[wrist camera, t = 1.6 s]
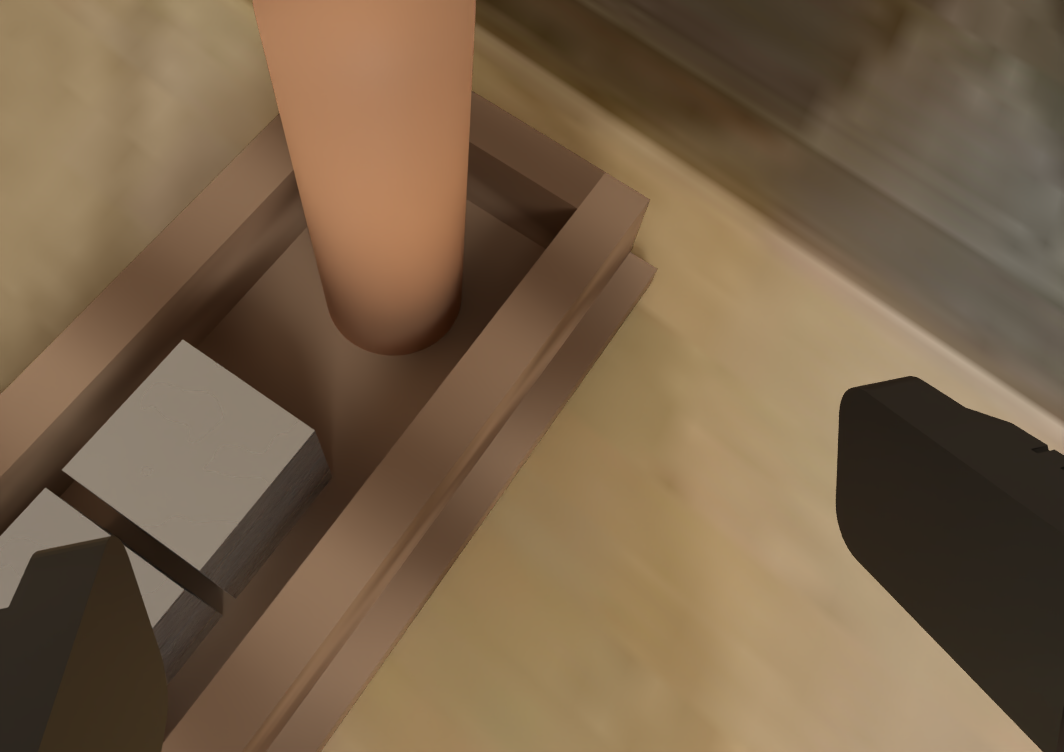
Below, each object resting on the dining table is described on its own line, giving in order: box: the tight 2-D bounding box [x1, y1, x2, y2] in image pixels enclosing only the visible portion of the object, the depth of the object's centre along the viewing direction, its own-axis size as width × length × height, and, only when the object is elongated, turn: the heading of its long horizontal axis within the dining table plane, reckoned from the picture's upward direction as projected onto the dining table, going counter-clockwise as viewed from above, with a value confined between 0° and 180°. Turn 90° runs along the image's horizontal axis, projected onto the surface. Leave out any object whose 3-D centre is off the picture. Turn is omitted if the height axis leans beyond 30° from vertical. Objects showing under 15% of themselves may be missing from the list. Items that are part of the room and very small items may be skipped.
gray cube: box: [0, 488, 223, 685], centre depth 22 cm, size 4×4×4 cm
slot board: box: [0, 91, 657, 752], centre depth 26 cm, size 20×12×4 cm, turn 146°
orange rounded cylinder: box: [253, 0, 476, 356], centre depth 23 cm, size 4×4×12 cm
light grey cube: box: [62, 340, 332, 599], centre depth 24 cm, size 4×4×4 cm
